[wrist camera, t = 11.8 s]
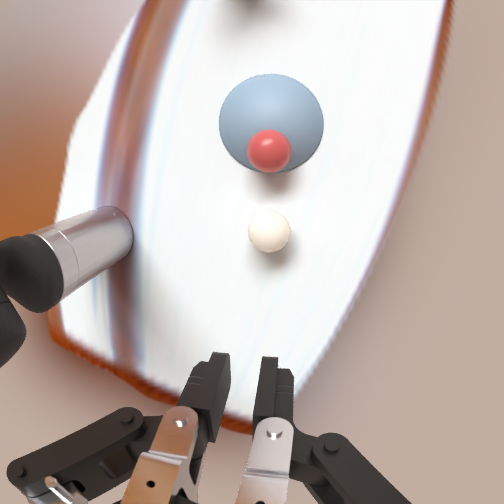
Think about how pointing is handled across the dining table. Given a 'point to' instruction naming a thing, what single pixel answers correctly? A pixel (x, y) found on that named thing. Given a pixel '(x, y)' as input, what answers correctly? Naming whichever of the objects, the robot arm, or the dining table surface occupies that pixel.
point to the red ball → (269, 151)
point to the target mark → (271, 116)
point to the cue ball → (269, 231)
